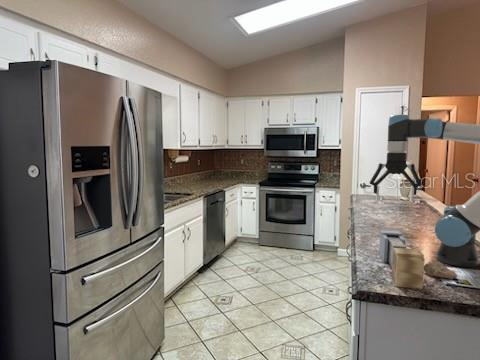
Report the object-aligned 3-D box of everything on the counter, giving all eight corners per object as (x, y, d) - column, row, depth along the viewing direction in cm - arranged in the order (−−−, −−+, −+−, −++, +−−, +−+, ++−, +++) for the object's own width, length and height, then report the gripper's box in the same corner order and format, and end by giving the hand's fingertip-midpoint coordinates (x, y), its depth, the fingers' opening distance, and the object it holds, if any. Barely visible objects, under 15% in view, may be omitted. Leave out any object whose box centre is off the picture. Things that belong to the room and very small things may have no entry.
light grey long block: (394, 254, 146) (395, 234, 145) (404, 269, 129) (406, 247, 128) (383, 253, 148) (384, 233, 146) (392, 268, 130) (393, 246, 129)
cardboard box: (416, 280, 120) (418, 249, 119) (422, 288, 113) (424, 256, 112) (391, 278, 122) (393, 247, 121) (396, 286, 115) (397, 254, 114)
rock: (419, 274, 127) (446, 278, 118) (419, 258, 128) (446, 261, 119) (432, 275, 131) (459, 279, 122) (432, 260, 132) (459, 263, 123)
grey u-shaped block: (397, 254, 148) (399, 230, 146) (403, 263, 137) (405, 237, 136) (379, 253, 149) (380, 229, 148) (383, 262, 138) (385, 236, 137)
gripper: (426, 152, 141) (423, 201, 143) (364, 151, 147) (362, 199, 149) (432, 152, 133) (428, 204, 136) (366, 152, 139) (364, 201, 142)
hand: (394, 201), depth 142 cm, fingers open, 13 cm apart
